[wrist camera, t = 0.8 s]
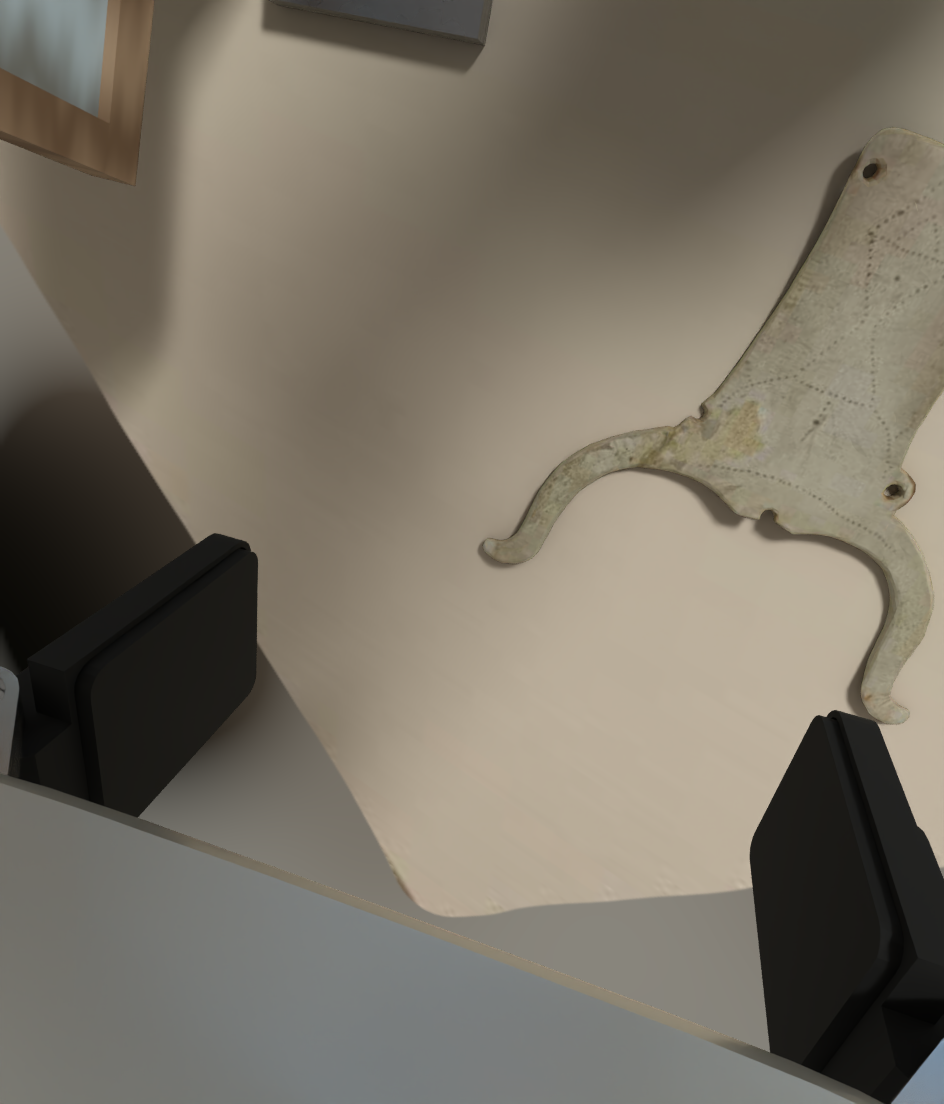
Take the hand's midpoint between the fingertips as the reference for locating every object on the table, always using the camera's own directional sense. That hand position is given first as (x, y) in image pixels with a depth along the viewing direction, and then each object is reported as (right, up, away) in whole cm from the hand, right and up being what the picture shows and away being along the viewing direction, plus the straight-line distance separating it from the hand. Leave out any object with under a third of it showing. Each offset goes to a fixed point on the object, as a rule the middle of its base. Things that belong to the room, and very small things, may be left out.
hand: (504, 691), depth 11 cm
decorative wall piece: (+19, +9, +30) cm, 36 cm away
